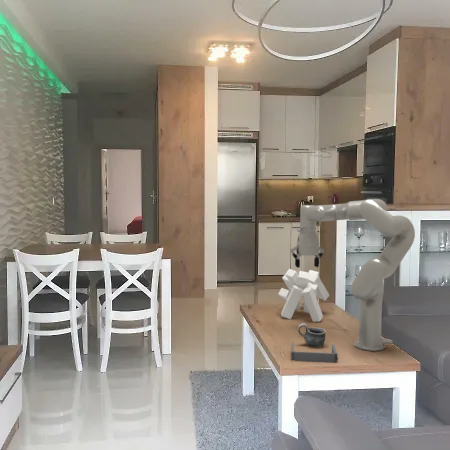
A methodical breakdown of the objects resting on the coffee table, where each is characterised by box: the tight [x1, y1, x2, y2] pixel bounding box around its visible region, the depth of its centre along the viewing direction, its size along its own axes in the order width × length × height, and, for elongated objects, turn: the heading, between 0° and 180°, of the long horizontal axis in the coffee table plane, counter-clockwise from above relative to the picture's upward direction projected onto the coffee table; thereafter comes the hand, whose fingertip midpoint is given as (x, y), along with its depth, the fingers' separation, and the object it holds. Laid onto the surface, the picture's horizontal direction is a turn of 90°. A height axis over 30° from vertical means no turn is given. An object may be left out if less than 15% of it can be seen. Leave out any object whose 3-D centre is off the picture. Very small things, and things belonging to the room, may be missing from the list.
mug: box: [297, 322, 327, 348], centre depth 216 cm, size 10×12×10 cm
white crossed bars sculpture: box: [277, 268, 330, 323], centre depth 268 cm, size 35×30×35 cm
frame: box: [290, 342, 338, 364], centre depth 202 cm, size 18×13×4 cm
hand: (307, 266), depth 233 cm, fingers open, 9 cm apart
